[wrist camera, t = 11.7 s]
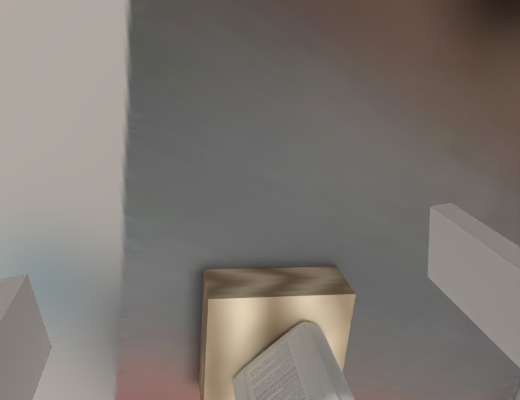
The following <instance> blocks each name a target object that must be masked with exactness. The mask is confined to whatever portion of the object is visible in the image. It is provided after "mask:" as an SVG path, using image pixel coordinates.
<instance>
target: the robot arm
mask: <svg viewBox="0 0 520 400" xmlns="http://www.w3.org/2000/svg"><path fill="white" fill-rule="evenodd" d="M428 277H429V278H430V279H431V280H432V281H433V282H434V283H435V284H436V285H437V286H438V287H439V288H440V289H441V290H442V291H443V292H444V293H445V294H446V295H447V296H448V297H449V298H450V299H451V300H452V301H453V302H454V303H455V304H456V305H457V306H458V307H459V308H460V309H461V310H462V311H463V312H464V313H465V314H466V315H467V316H468V317H469V318H470V319H471V320H472V321H473V322H474V323H475V324H476V325H477V326H478V327H479V328H480V329H481V330H482V331H483V332H484V333H485V334H486V335H487V336H488V337H489V338H490V339H491V340H492V341H493V342H494V343H495V344H496V345H497V346H498V347H499V348H500V349H501V350H502V351H503V352H504V353H505V354H506V355H507V356H508V357H509V358H510V359H511V360H512V361H513V362H514V363H515V364H516V365H517V366H518V367H519V368H520V247H519V246H517V245H516V244H514V243H513V242H511V241H510V240H508V239H507V238H505V237H503V236H502V235H500V234H499V233H497V232H496V231H494V230H493V229H491V228H490V227H488V226H486V225H485V224H483V223H482V222H480V221H479V220H477V219H476V218H474V217H473V216H471V215H469V214H468V213H466V212H465V211H463V210H462V209H460V208H459V207H457V206H455V205H454V204H452V203H447V204H441V205H436V206H430V230H429V254H428ZM50 350H51V344H50V341H49V338H48V335H47V332H46V329H45V326H44V323H43V320H42V317H41V314H40V311H39V308H38V305H37V302H36V299H35V296H34V292H33V289H32V286H31V283H30V280H29V277H28V275H27V274H26V275H21V276H15V277H9V278H3V279H1V280H0V400H32V399H33V396H34V394H35V391H36V388H37V385H38V383H39V380H40V377H41V374H42V372H43V369H44V367H45V364H46V361H47V358H48V356H49V353H50Z"/></svg>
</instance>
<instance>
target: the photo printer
mask: <svg viewBox="0 0 520 400" xmlns="http://www.w3.org/2000/svg"><path fill="white" fill-rule="evenodd" d="M233 389H234V396H235V400H354V397H353V395H352V393H351V391H350V389H349V387H348V384H347V382H346V380H345V378H344V376H343V374H342V371H341V369H340V367H339V365H338V363H337V361H336V358H335V356H334V354H333V352H332V350H331V348H330V345H329V343H328V341H327V339H326V337H325V335H324V333H323V331H322V329H321V328H320V327H319V326H317V325H316V324H313V323H310V322H307V323H306V322H302V323H300V324H299V325H297V326H295V327H294V328H292V329H291V330H290V331H289V332H287V333H286V334H285V335H283V336H282V337H281V338H280V339H279V340H277V341H276V342H275V343H273V344H272V345H271V346H270V347H269V348H267V349H266V350H265V351H264V352H263V353H261V354H260V355H259V356H258V357H256V358H255V359H254V360H253V361H251V362H250V363H249V364H248V365H247V366H246V367H245V368H244V369H243V370H241V371H240V372H239V373H238V374H237V376H236V377H235V378H234V380H233Z"/></svg>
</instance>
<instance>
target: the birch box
mask: <svg viewBox="0 0 520 400" xmlns="http://www.w3.org/2000/svg"><path fill="white" fill-rule="evenodd" d="M355 296H356V294H355V292H354V291H353V289H352V288H351V287H350V285H349V284H348V282H347V281H346V280H345V278H344V277H343V275H342V274H341V273H340V271H339V270H338V268H337V267H336V266H334V267H288V268H242V269H204V274H203V298H202V322H201V346H200V371H199V387H200V398H201V400H235V396H234V389H233V380H234V378H235V377H236V376H237V374H238V373H239V372H240V371H241V370H243V369H244V368H245V367H246V366H247V365H248V364H249V363H250V362H251V361H253V360H254V359H255V358H256V357H258V356H259V355H260V354H261V353H263V352H264V351H265V350H266V349H267V348H269V347H270V346H271V345H272V344H273V343H275V342H276V341H277V340H279V339H280V338H281V337H282V336H283V335H285V334H286V333H287V332H289V331H290V330H291V329H292V328H294V327H295V326H297V325H299V324H300V323H302V322H306V323H307V322H310V323H313V324H316V325H317V326H319V327H320V328H321V329H322V331H323V333H324V335H325V337H326V339H327V341H328V343H329V345H330V348H331V350H332V352H333V354H334V356H335V358H336V361H337V363H338V365H339V367H340V369H341V371H342V373H343V367H344V361H345V355H346V349H347V343H348V337H349V331H350V325H351V319H352V313H353V307H354V301H355Z"/></svg>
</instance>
